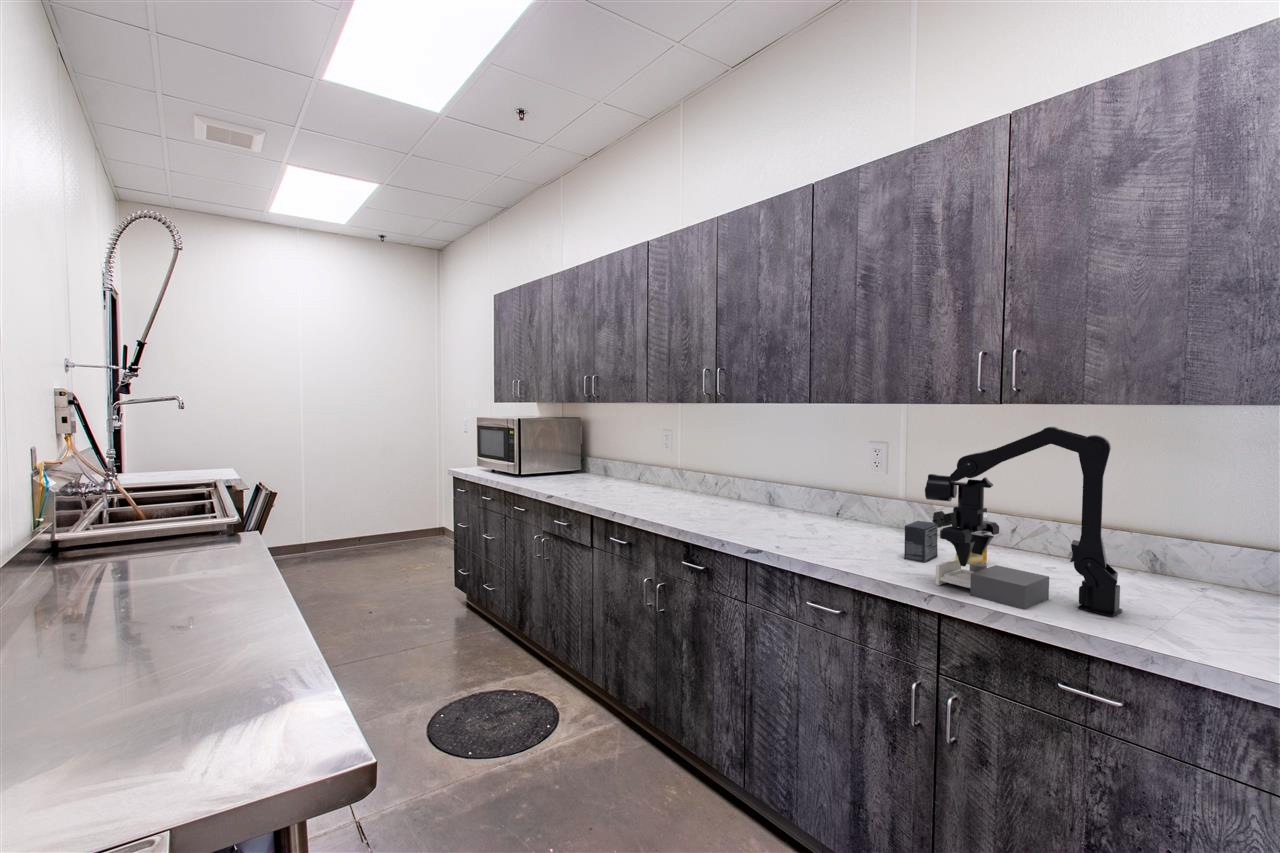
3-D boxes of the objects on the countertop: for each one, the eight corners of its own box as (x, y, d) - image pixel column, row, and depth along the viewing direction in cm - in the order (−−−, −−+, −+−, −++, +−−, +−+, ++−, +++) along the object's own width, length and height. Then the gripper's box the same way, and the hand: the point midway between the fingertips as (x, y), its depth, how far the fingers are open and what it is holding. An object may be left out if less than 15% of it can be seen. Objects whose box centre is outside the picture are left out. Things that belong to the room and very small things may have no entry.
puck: (989, 578, 157) (989, 565, 157) (982, 580, 155) (982, 567, 154) (973, 574, 160) (974, 562, 160) (966, 577, 158) (966, 564, 158)
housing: (1048, 598, 141) (1049, 576, 140) (1024, 609, 133) (1025, 586, 133) (995, 585, 151) (995, 565, 150) (970, 595, 143) (970, 573, 143)
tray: (1004, 588, 148) (1004, 568, 148) (982, 596, 142) (983, 575, 141) (956, 577, 158) (957, 558, 157) (934, 584, 151) (935, 564, 151)
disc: (987, 562, 149) (987, 556, 149) (975, 565, 145) (975, 559, 145) (962, 557, 154) (963, 551, 154) (951, 560, 150) (951, 554, 150)
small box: (916, 552, 184) (916, 519, 183) (938, 556, 179) (938, 522, 179) (902, 559, 176) (903, 524, 176) (925, 563, 172) (926, 528, 171)
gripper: (957, 496, 161) (956, 552, 161) (920, 502, 150) (919, 562, 151) (1000, 501, 152) (999, 561, 152) (964, 509, 141) (963, 573, 142)
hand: (969, 564), depth 149 cm, fingers closed on disc, 6 cm apart
